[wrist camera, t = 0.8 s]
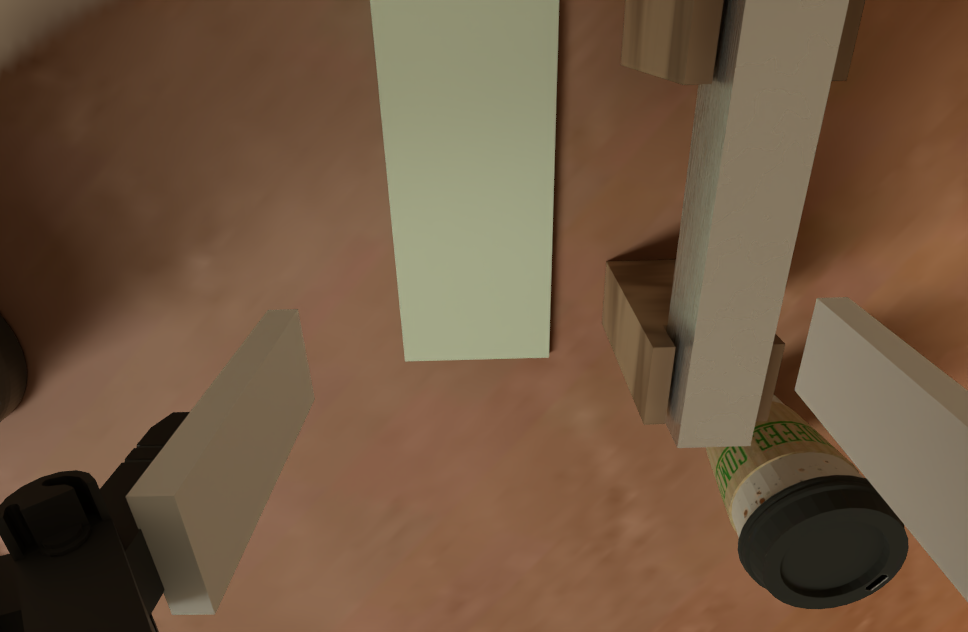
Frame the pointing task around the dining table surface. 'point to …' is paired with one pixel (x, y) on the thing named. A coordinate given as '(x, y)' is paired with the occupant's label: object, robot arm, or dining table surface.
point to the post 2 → (654, 335)
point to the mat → (470, 171)
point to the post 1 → (698, 39)
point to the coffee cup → (806, 515)
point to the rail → (745, 209)
